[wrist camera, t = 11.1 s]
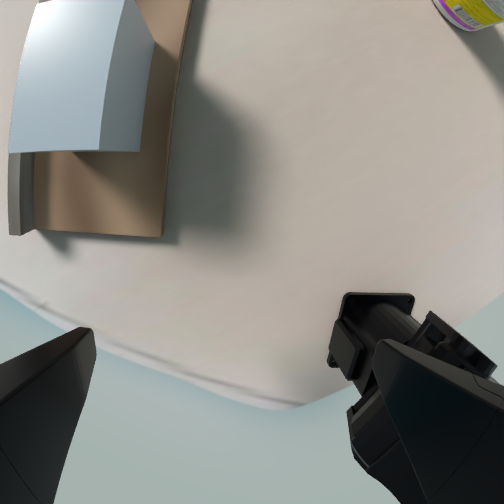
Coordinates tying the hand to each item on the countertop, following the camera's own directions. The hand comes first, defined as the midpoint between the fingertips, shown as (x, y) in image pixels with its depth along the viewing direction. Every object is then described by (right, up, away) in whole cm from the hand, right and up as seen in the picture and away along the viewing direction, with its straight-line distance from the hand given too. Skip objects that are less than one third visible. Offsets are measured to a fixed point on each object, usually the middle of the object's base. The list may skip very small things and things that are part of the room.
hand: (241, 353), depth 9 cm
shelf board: (-9, +13, +8) cm, 17 cm away
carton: (-8, +12, +7) cm, 16 cm away
